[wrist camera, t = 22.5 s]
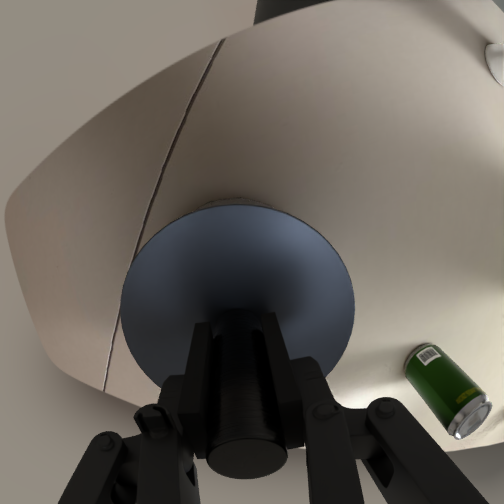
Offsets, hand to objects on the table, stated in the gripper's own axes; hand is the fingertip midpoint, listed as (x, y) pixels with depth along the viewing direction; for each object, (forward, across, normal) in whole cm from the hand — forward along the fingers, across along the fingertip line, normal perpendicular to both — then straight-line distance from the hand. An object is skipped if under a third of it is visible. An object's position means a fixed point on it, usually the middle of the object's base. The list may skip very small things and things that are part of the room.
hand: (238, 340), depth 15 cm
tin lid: (+2, 0, 0) cm, 2 cm away
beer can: (+11, +20, -15) cm, 27 cm away
